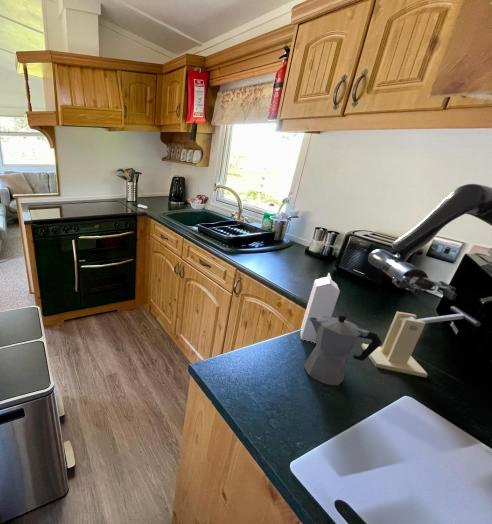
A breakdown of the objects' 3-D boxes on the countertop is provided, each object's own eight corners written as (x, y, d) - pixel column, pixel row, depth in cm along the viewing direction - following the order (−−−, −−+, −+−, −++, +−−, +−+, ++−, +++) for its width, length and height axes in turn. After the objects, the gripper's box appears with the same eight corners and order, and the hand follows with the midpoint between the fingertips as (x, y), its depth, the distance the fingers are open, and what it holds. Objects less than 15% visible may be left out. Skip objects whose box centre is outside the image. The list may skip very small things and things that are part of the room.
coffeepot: (294, 373, 77) (312, 314, 71) (297, 354, 84) (313, 300, 78) (364, 399, 69) (391, 336, 63) (361, 377, 77) (384, 318, 71)
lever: (456, 311, 80) (455, 303, 79) (481, 328, 72) (480, 319, 71) (394, 319, 85) (393, 312, 84) (411, 335, 77) (410, 328, 76)
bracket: (406, 355, 88) (425, 312, 82) (426, 377, 78) (449, 331, 73) (361, 346, 91) (377, 304, 85) (375, 366, 81) (394, 321, 76)
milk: (300, 339, 92) (319, 276, 84) (299, 330, 97) (317, 270, 90) (322, 345, 90) (343, 281, 82) (320, 335, 95) (339, 274, 87)
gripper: (386, 262, 101) (413, 279, 86) (435, 268, 98) (472, 287, 83) (379, 281, 104) (403, 301, 89) (426, 288, 100) (460, 310, 85)
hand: (436, 294), depth 86 cm, fingers open, 8 cm apart
